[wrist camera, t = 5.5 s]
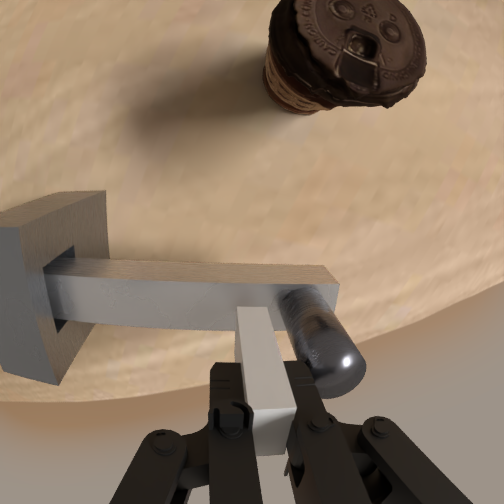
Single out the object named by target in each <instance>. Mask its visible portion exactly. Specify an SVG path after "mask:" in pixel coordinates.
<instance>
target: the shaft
mask: <svg viewBox="0 0 504 504" xmlns="http://www.w3.org/2000/svg"><path fill="white" fill-rule="evenodd" d="M43 272H44V278H45V283H46V288H47V293H48V298H49V302H50V307H51V311H52V315H53V318H56V319H63V320H71V321H80V322H89V323H98V324H109V325H120V326H132V327H146V328H162V329H182V330H212V331H235V330H236V310H237V306H240V307H267V309H268V313H269V316H270V319H271V323H272V326H273V329H274V331H287V333H288V336H289V339H290V342H291V344H292V347H293V350H294V353H295V355H296V358H297V361H298V360H301V361H302V362H303V363H304V364H305V365H307V366H308V367H309V369H310V372H311V374H312V378H313V379H314V382H315V385H316V387H317V389H318V392H319V394H320V397H321V398H322V399H331V398H336V397H339V396H342V395H344V394H346V393H348V392H350V391H351V390H353V389H354V388H355V387H356V386H357V385H358V384H359V383H360V382H361V380H362V379H363V377H364V375H365V372H366V362H365V360H364V358H363V357H362V355H361V354H360V352H359V351H358V349H357V348H356V346H355V344H354V343H353V341H352V340H351V338H350V337H349V335H348V334H347V332H346V331H345V329H344V328H343V326H342V325H341V323H340V322H339V320H338V319H337V317H336V316H335V314H334V311H335V306H336V301H337V296H338V291H339V285H340V284H339V283H338V281H337V280H336V279H335V278H334V277H333V276H332V274H331V273H330V272H329V271H328V270H327V269H326V268H325V266H324V265H285V264H242V263H206V262H173V261H143V260H116V259H90V258H67V257H56V258H55V259H54V260H52V261H51V262H50V263H48V264H47V265H46V266H44V267H43Z"/></svg>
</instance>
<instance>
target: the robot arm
mask: <svg viewBox="0 0 504 504" xmlns="http://www.w3.org/2000/svg"><path fill="white" fill-rule="evenodd" d="M234 353H235V363H225V362H215V364H214V365H213V367H212V368H211V370H210V409H209V412H208V423H207V425H206V426H205V427H204V428H203V429H201V430H200V431H198V432H195V433H192V434H187V435H182V436H181V435H180V434H178V433H176V432H174V431H172V430H165V429H161V430H155V431H153V432H151V433H149V434H148V435H147V436H146V437H145V438H144V440H143V441H142V443H141V445H140V447H139V449H138V451H137V453H136V454H135V456H134V458H133V460H132V462H131V464H130V466H129V468H128V469H127V472H126V473H125V475H124V477H123V479H122V481H121V483H120V485H119V486H118V488H117V490H116V492H115V494H114V496H113V498H112V500H111V501H110V503H109V504H187V502H188V499H189V496H190V493H191V490H192V489H193V488H197V487H201V486H205V485H209V491H210V492H209V495H210V504H263V501H262V495H261V488H260V482H259V475H258V468H257V461H256V456H269V455H282V454H285V450H286V447H287V451H288V456H289V458H288V462H287V465H286V468H285V471H284V476H287V475H288V472H289V476H290V481H291V485H292V489H293V494H294V498H295V502H296V504H473V503H472V502H471V501H470V500H469V499H468V498H467V497H466V496H465V495H464V494H463V493H462V492H461V491H460V490H459V489H458V488H457V487H456V486H455V485H454V484H453V483H452V482H451V481H450V480H449V479H448V478H447V477H446V476H445V475H444V474H443V473H442V472H441V471H440V470H439V469H438V468H437V467H436V466H435V465H434V463H432V462H431V460H430V459H429V458H428V457H427V456H426V455H425V454H424V453H423V452H422V451H421V450H420V449H419V448H418V447H417V446H416V445H415V444H414V443H413V442H412V441H411V440H410V439H409V437H407V435H406V434H405V433H404V432H403V431H402V430H401V429H400V428H399V427H398V426H397V425H396V424H395V423H394V422H393V421H391V420H390V419H388V418H385V417H380V416H375V417H371V418H369V419H367V420H366V421H365V422H364V424H363V425H354V424H345V423H341V422H338V421H337V419H336V418H335V417H334V416H333V415H331V414H330V413H328V412H327V411H326V409H325V407H324V404H323V402H322V399H321V397H320V394H319V392H318V389H317V387H316V385H315V382H314V379H313V378H312V374H311V372H310V369H309V367H308V366H307V365H305V364H304V363H303V362H302V361H301V360H298V361H283V360H282V356H281V353H280V350H279V346H278V343H277V339H276V336H275V333H274V329H273V326H272V323H271V319H270V316H269V313H268V309H267V307H240V306H237V310H236V330H235V351H234Z"/></svg>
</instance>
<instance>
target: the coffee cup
mask: <svg viewBox="0 0 504 504" xmlns="http://www.w3.org/2000/svg"><path fill="white" fill-rule="evenodd" d="M268 37H269V43H268V47H267V53H266V60H265V66H264V69H263V81H264V85H265V87H266V90H267V92H268V94H269V96H270V97H271V98H272V99H273V100H274V101H275V102H276V103H277V104H279V105H280V106H282V107H283V108H285V109H287V110H290V111H292V112H294V113H297V114H310V115H312V114H315V113H316V112H318V111H320V110H331V109H333V108H334V107H337V106H343V107H349V106H367V107H375V106H383V107H385V108H387V109H388V108H389V107H392V106H393V105H394V104H395V103H397V102H399V101H400V100H402V99H403V98H407V97H408V95H409V94H410V93H411V92H412V91H413V90H414V89H415V88H416V86H417V83H418V81H419V78H421V77H423V76H424V73H425V70H426V69H425V67H426V65H427V62H426V60H427V57H426V48H425V41H424V38H423V34H422V32H421V29H420V27H419V25H418V24H417V22H416V20H415V19H414V17H413V16H412V14H411V13H410V11H409V10H408V9H407V8H406V7H405V6H404V5H403V4H402V3H401V2H400V1H399V0H281V1H280V2H279V4H278V5H277V6H276V7H275V9H274V10H273V12H272V16H271V20H270V26H269V36H268Z"/></svg>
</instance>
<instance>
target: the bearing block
mask: <svg viewBox="0 0 504 504" xmlns="http://www.w3.org/2000/svg"><path fill="white" fill-rule="evenodd" d="M56 257H67V258H90V259H109V247H108V233H107V214H106V190H105V191H74V192H58V193H55V194H52V195H49V196H45V197H42V198H39V199H36V200H33V201H31V202H28V203H25V204H22V205H19V206H16V207H14V208H11V209H8V210H6V211H3V212H0V364H1V366H2V369H3V371H4V372H8V373H11V374H14V375H18V376H21V377H25V378H29V379H32V380H36V381H40V382H44V383H48V384H53V385H57V386H59V384H60V383H61V381H62V379H63V377H64V375H65V374H66V372H67V370H68V368H69V367H70V365H71V363H72V361H73V360H74V358H75V356H76V355H77V353H78V351H79V350H80V348H81V346H82V345H83V343H84V341H85V340H86V338H87V336H88V335H89V333H90V332H91V330H92V328H93V327H94V325H95V324H96V323H89V322H80V321H71V320H63V319H56V318H53V315H52V311H51V307H50V302H49V298H48V293H47V288H46V283H45V278H44V272H43V267H44V266H46V265H47V264H48V263H50V262H51V261H52V260H54V259H55V258H56Z"/></svg>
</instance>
